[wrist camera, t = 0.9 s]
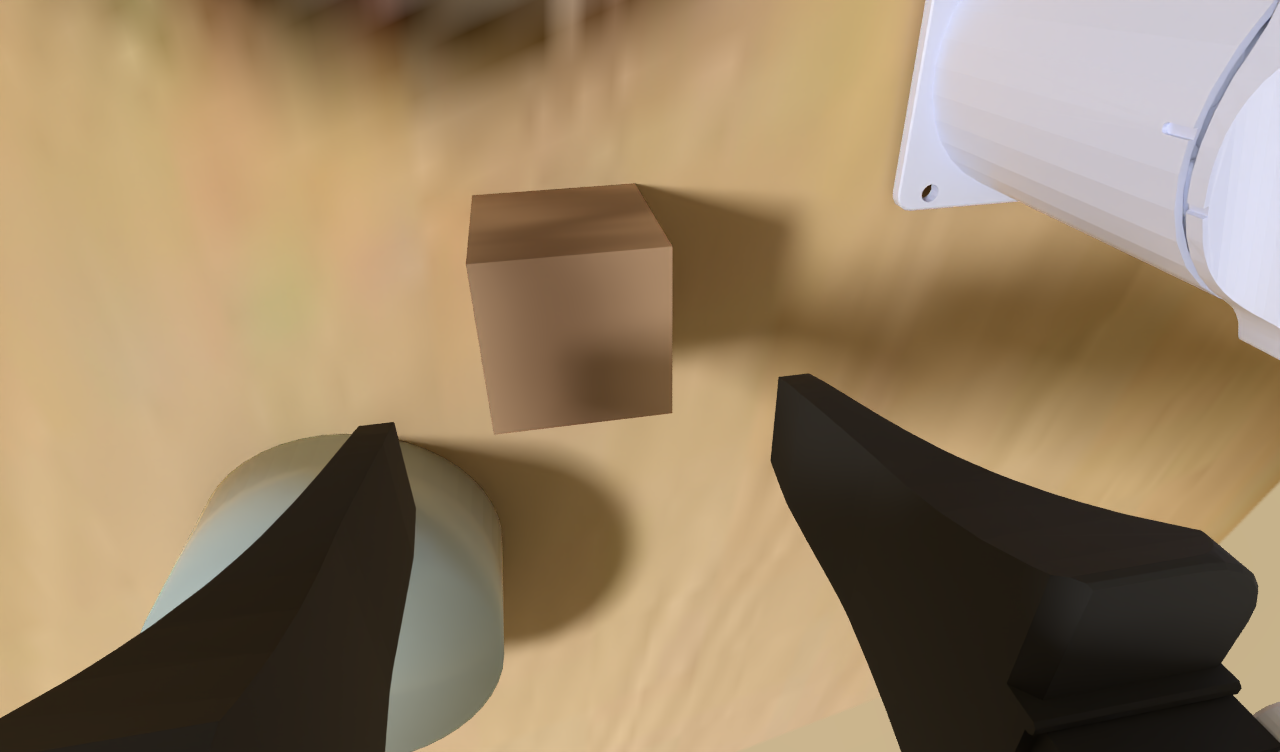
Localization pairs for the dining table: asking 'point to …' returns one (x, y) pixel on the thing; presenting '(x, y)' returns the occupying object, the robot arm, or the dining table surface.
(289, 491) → the grey rounded dome
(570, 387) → the walnut block
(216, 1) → the dining table surface
